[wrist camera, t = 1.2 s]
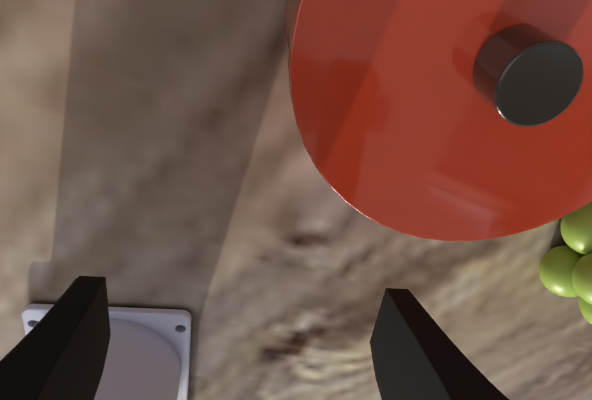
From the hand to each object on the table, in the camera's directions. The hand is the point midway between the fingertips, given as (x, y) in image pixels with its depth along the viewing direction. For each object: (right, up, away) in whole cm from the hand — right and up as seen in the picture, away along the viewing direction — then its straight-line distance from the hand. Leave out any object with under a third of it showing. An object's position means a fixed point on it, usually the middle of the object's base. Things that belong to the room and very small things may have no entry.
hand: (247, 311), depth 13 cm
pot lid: (+7, +7, +1) cm, 10 cm away
